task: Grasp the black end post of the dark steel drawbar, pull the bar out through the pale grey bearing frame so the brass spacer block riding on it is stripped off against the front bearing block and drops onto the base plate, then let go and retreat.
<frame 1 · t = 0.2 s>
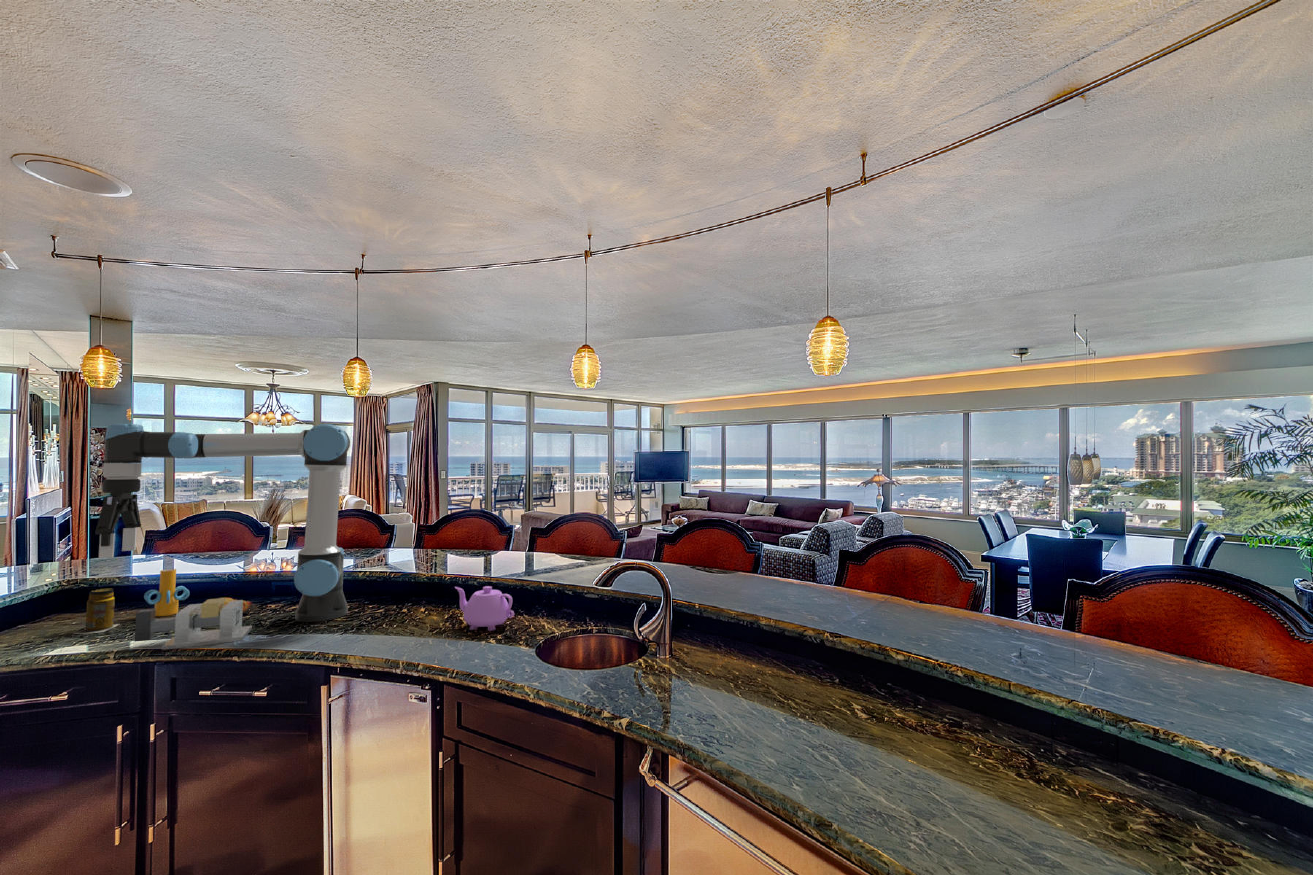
hand: (117, 554, 148), 26 cm above the worktop, fingers open, 13 cm apart
spacer: (212, 614, 157), point 7 cm above the worktop, touching drawbar
cylinder: (166, 614, 181), on the worktop
croissant: (217, 619, 177), on the worktop
condiment: (97, 630, 165), on the worktop
bearing frame: (209, 638, 157), on the worktop
drawbar: (189, 620, 155), point 6 cm above the worktop, slide at 0.0 cm, touching spacer
teapot: (483, 626, 170), on the worktop
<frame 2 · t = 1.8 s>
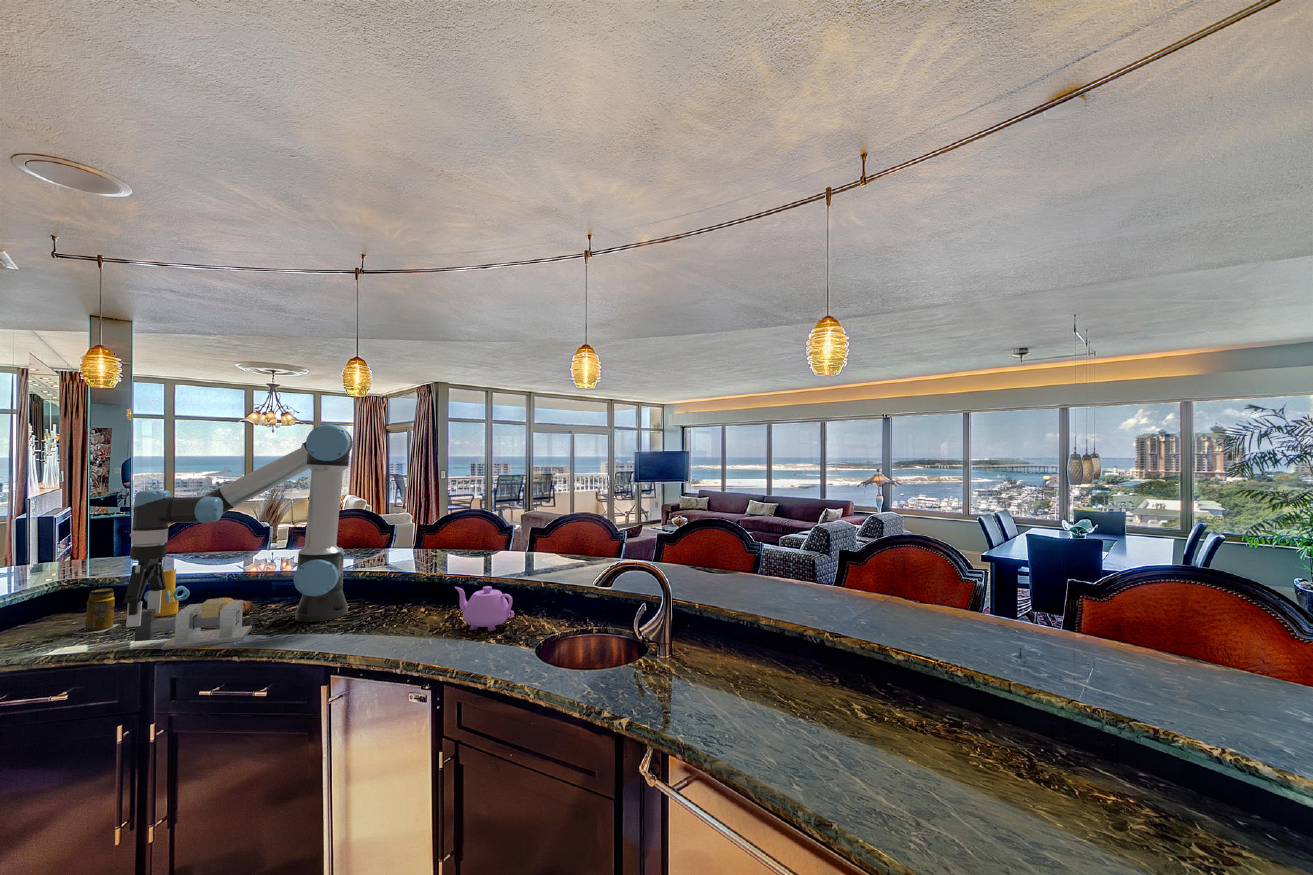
hand: (143, 619, 150), 7 cm above the worktop, fingers open, 13 cm apart
nothing on the worktop moved.
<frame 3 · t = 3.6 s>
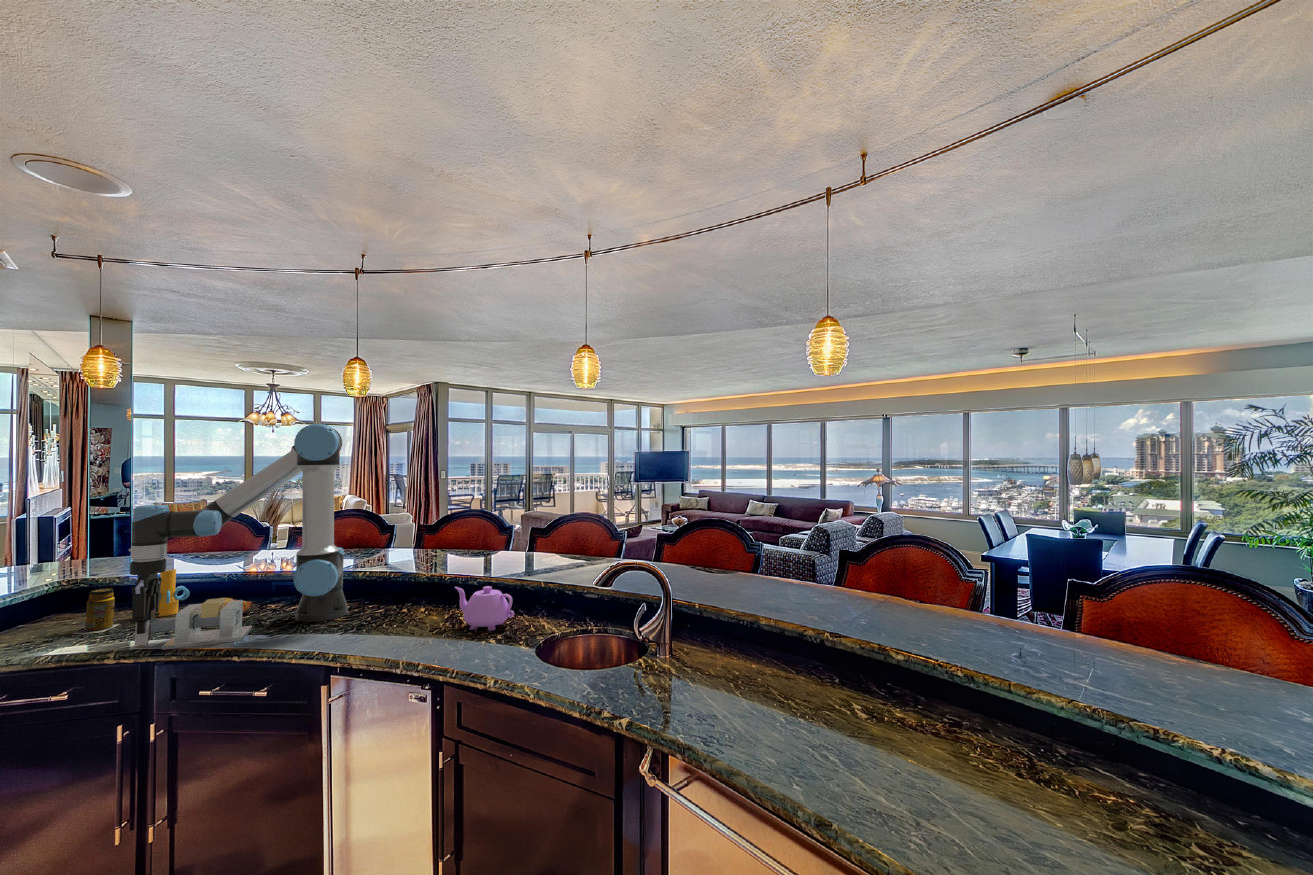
hand: (144, 642, 150), 1 cm above the worktop, fingers closed on drawbar, 3 cm apart
drawbar: (189, 620, 155), point 6 cm above the worktop, slide at 0.0 cm, touching gripper, spacer
everything else where it was.
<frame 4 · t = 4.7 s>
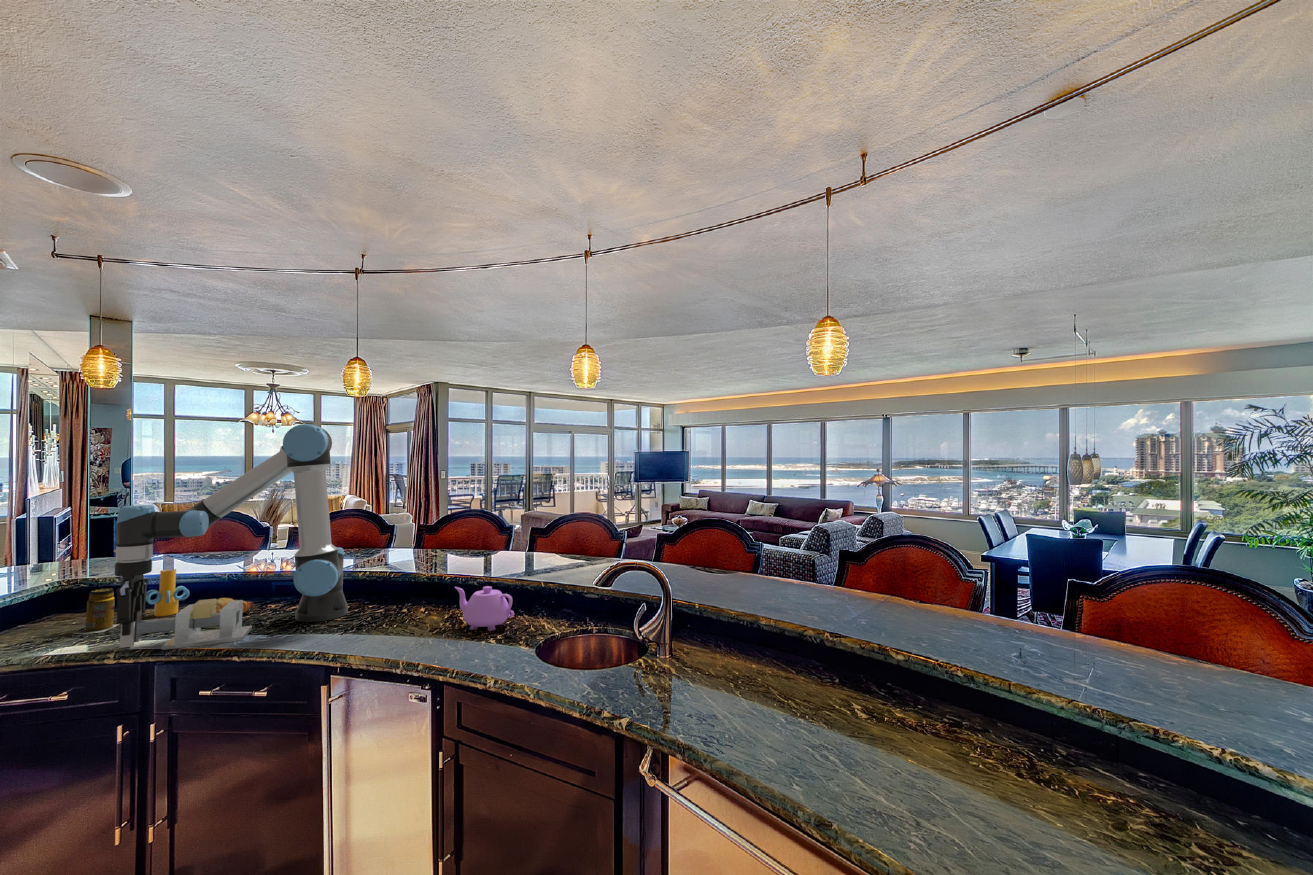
hand: (130, 643, 149), 1 cm above the worktop, fingers closed on drawbar, 3 cm apart
spacer: (204, 615, 156), point 7 cm above the worktop, touching drawbar
drawbar: (176, 621, 153), point 6 cm above the worktop, slide at 3.0 cm, touching gripper, spacer
everything else where it was.
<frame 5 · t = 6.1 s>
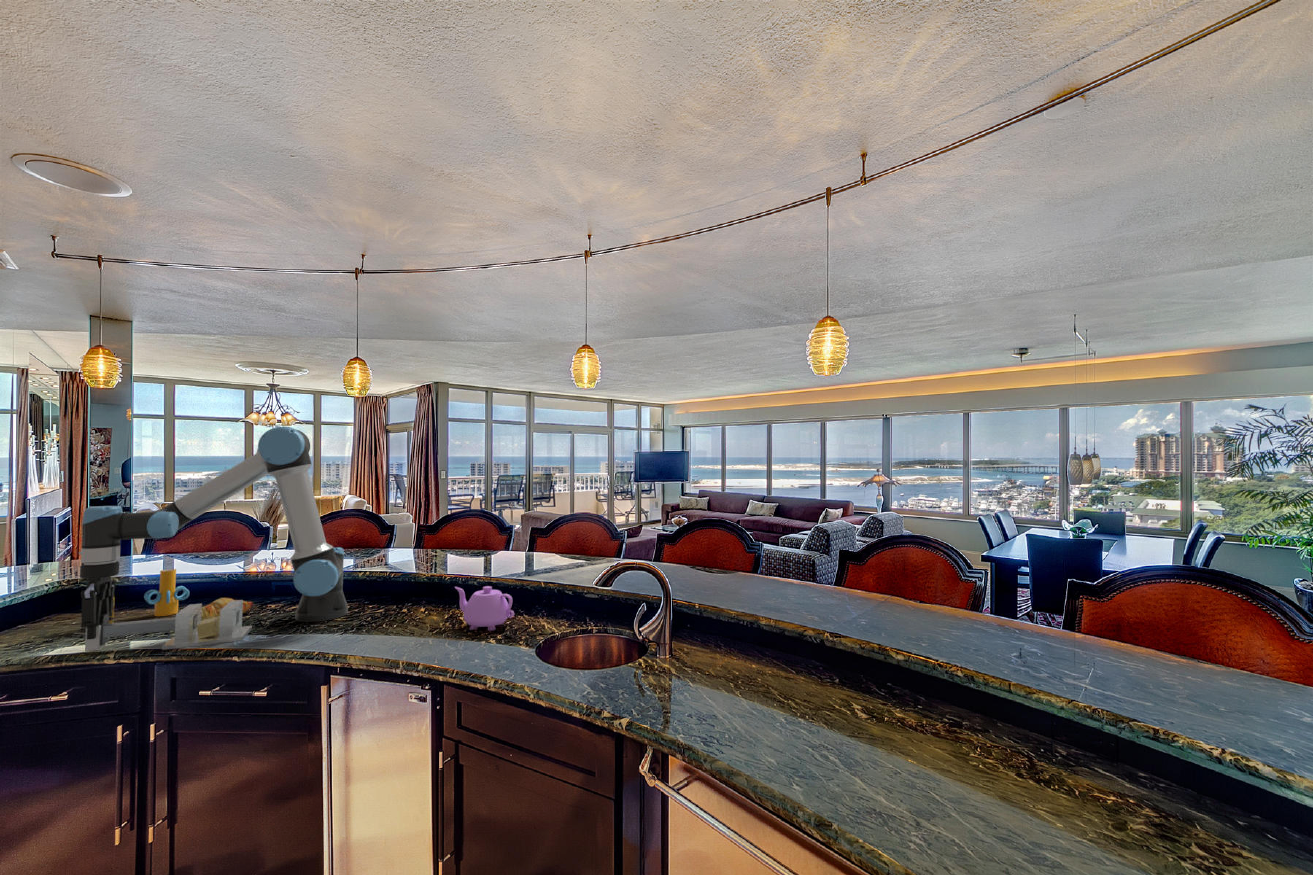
hand: (96, 647, 146), 1 cm above the worktop, fingers closed on drawbar, 3 cm apart
spacer: (201, 629, 156), point 3 cm above the worktop, tilted 81°, touching bearing frame
drawbar: (144, 624, 150), point 6 cm above the worktop, slide at 9.9 cm, touching gripper
everything else where it was.
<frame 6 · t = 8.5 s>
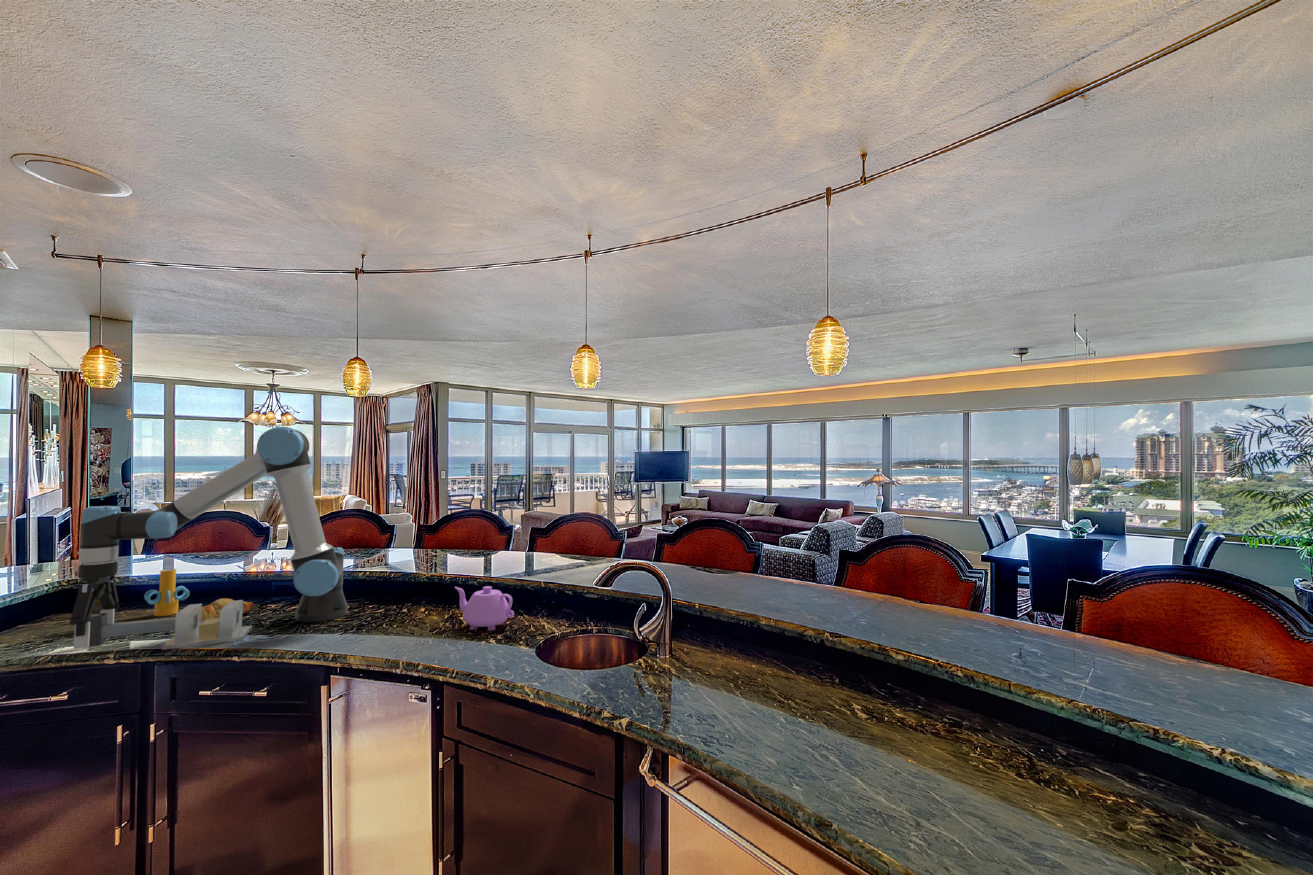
hand: (94, 640, 146), 3 cm above the worktop, fingers open, 13 cm apart
spacer: (202, 628, 156), point 3 cm above the worktop, tilted 90°, touching bearing frame
drawbar: (143, 624, 150), point 6 cm above the worktop, slide at 10.3 cm
everything else where it was.
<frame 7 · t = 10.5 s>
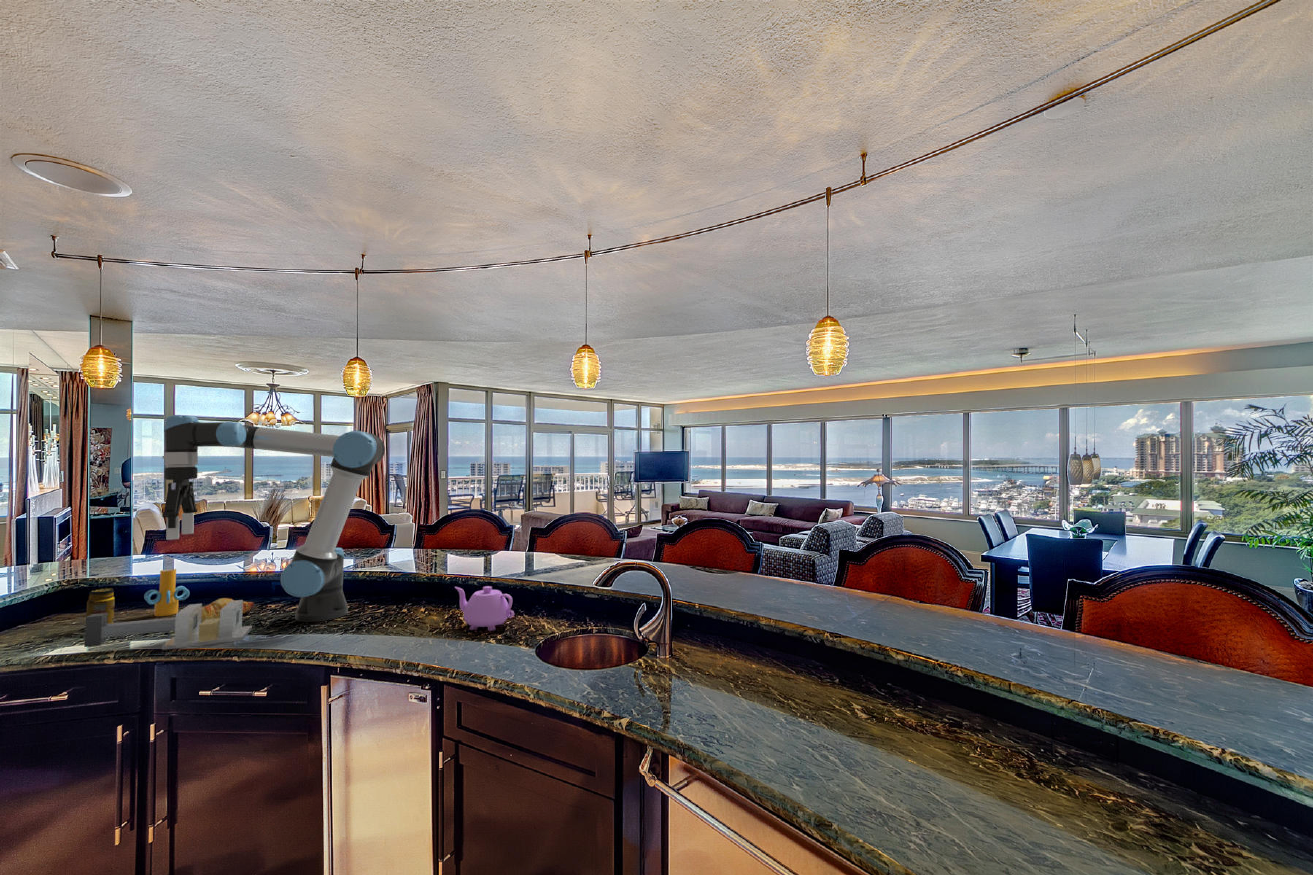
hand: (180, 536, 160), 30 cm above the worktop, fingers open, 13 cm apart
nothing on the worktop moved.
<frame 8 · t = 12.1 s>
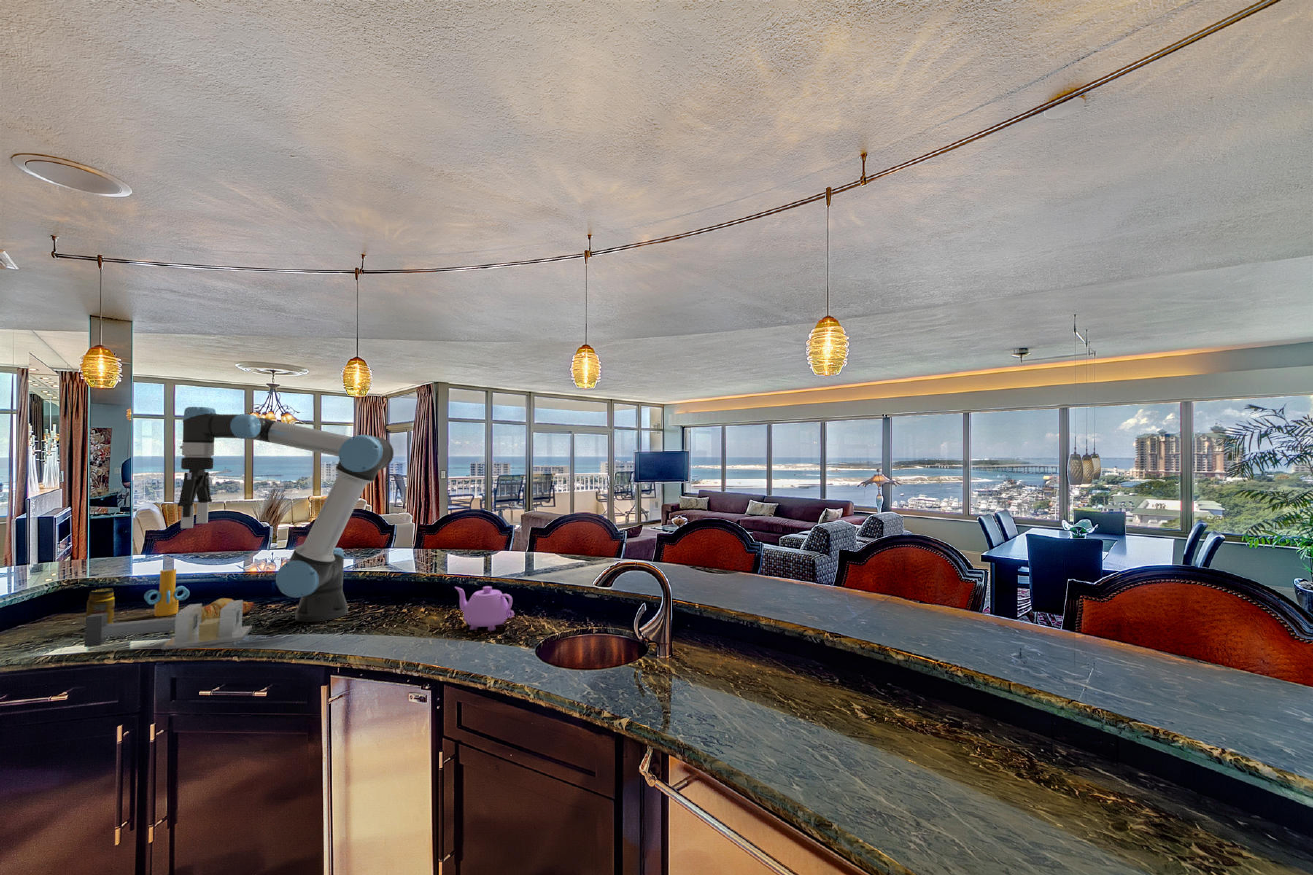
hand: (194, 525, 163), 33 cm above the worktop, fingers open, 13 cm apart
nothing on the worktop moved.
at the end: drawbar slide at 10.3 cm; spacer inside the target area (1.0 cm from its centre), point 3.0 cm above the worktop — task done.
